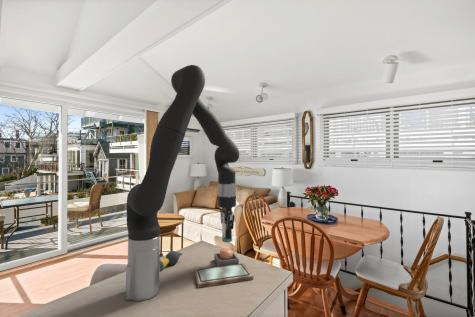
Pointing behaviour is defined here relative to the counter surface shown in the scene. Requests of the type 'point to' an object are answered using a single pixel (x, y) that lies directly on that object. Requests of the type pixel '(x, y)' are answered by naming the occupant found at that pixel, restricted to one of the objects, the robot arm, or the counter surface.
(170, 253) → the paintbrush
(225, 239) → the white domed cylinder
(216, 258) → the button housing
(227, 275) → the framed mirror
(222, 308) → the counter surface
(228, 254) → the button
